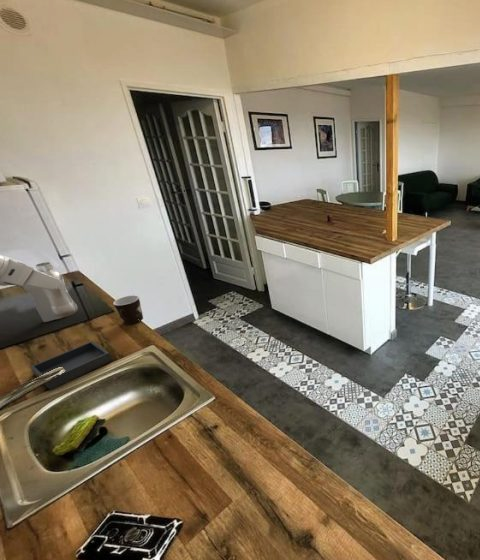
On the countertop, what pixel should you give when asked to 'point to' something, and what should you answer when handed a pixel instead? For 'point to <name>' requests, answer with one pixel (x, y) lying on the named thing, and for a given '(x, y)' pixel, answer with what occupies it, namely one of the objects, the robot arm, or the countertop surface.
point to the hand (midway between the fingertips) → (56, 286)
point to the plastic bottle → (58, 293)
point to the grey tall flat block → (41, 303)
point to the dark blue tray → (73, 363)
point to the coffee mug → (129, 309)
